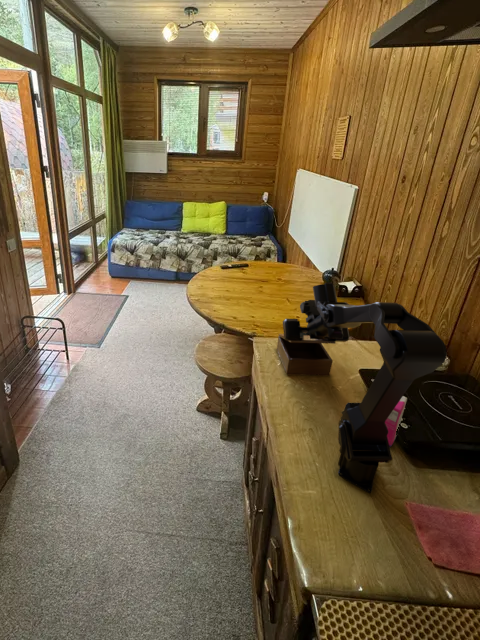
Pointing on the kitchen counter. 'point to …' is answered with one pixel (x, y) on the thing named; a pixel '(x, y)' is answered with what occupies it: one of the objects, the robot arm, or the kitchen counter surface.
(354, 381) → the kitchen counter surface
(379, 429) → the robot arm
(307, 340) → the lid
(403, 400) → the supplement box
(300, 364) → the chest
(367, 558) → the kitchen counter surface
